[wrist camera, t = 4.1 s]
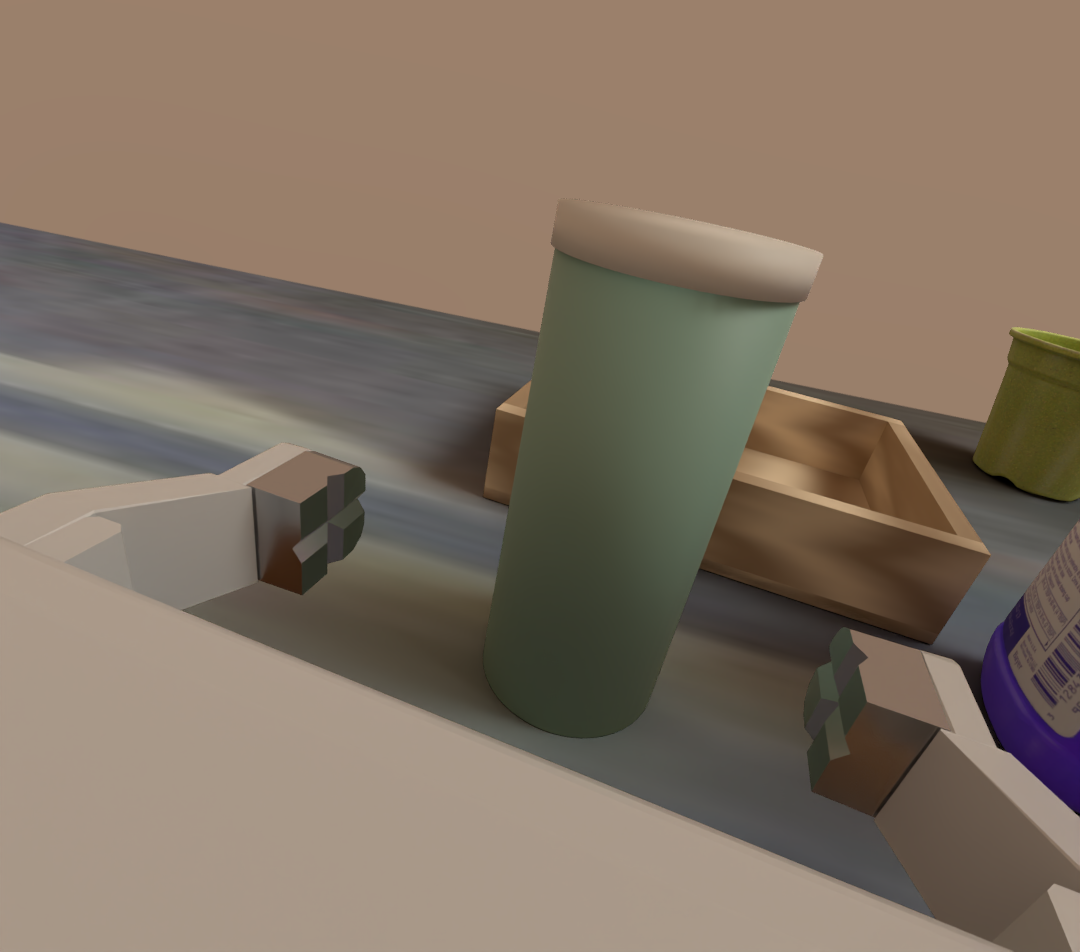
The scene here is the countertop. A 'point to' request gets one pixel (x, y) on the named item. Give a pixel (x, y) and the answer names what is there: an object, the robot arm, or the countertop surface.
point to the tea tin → (629, 451)
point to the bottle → (1041, 675)
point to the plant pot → (1036, 417)
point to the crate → (823, 514)
